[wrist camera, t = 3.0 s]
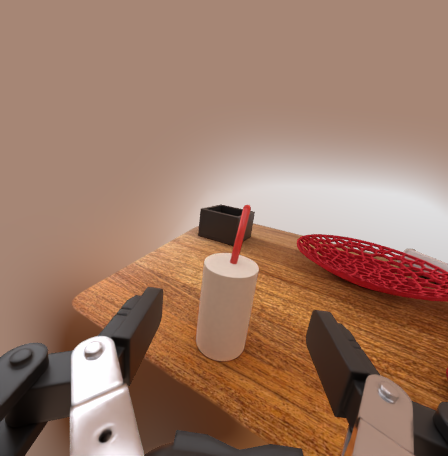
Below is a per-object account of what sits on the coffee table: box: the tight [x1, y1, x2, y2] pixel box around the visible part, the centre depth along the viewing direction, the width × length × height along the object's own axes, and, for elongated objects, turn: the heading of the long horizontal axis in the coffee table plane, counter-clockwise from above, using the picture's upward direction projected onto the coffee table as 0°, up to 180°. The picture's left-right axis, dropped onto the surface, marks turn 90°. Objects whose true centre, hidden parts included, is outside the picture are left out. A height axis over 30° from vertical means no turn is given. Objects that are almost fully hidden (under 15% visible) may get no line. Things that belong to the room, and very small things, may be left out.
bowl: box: [297, 234, 448, 301], centre depth 47 cm, size 29×29×5 cm
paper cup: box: [196, 205, 259, 361], centre depth 23 cm, size 6×6×16 cm
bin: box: [198, 205, 255, 246], centre depth 63 cm, size 12×12×8 cm
